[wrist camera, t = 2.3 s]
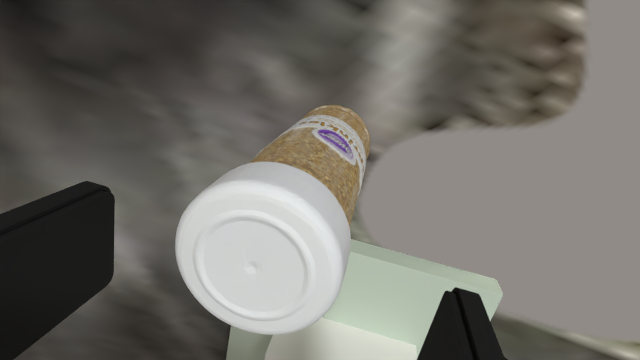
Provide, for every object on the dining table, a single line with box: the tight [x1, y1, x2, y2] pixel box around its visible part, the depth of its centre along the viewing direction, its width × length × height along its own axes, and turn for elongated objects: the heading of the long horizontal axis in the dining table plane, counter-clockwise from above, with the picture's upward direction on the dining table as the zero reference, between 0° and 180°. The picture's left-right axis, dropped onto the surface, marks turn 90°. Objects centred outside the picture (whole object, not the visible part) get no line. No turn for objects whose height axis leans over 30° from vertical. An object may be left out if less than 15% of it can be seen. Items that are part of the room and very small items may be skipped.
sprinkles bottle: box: [175, 105, 370, 335], centre depth 15 cm, size 5×5×13 cm
